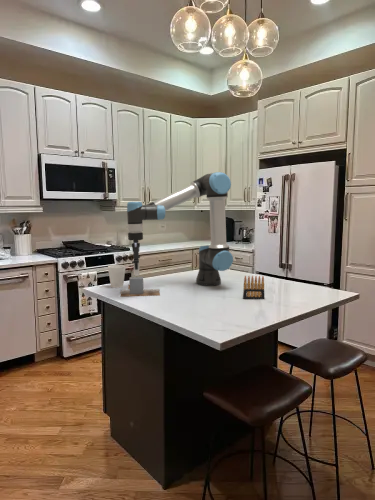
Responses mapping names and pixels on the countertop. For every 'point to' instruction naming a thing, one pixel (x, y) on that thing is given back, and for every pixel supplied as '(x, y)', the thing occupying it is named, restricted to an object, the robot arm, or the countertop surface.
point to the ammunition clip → (253, 288)
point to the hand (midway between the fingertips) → (136, 273)
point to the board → (140, 294)
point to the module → (136, 285)
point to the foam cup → (116, 275)
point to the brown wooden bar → (143, 291)
